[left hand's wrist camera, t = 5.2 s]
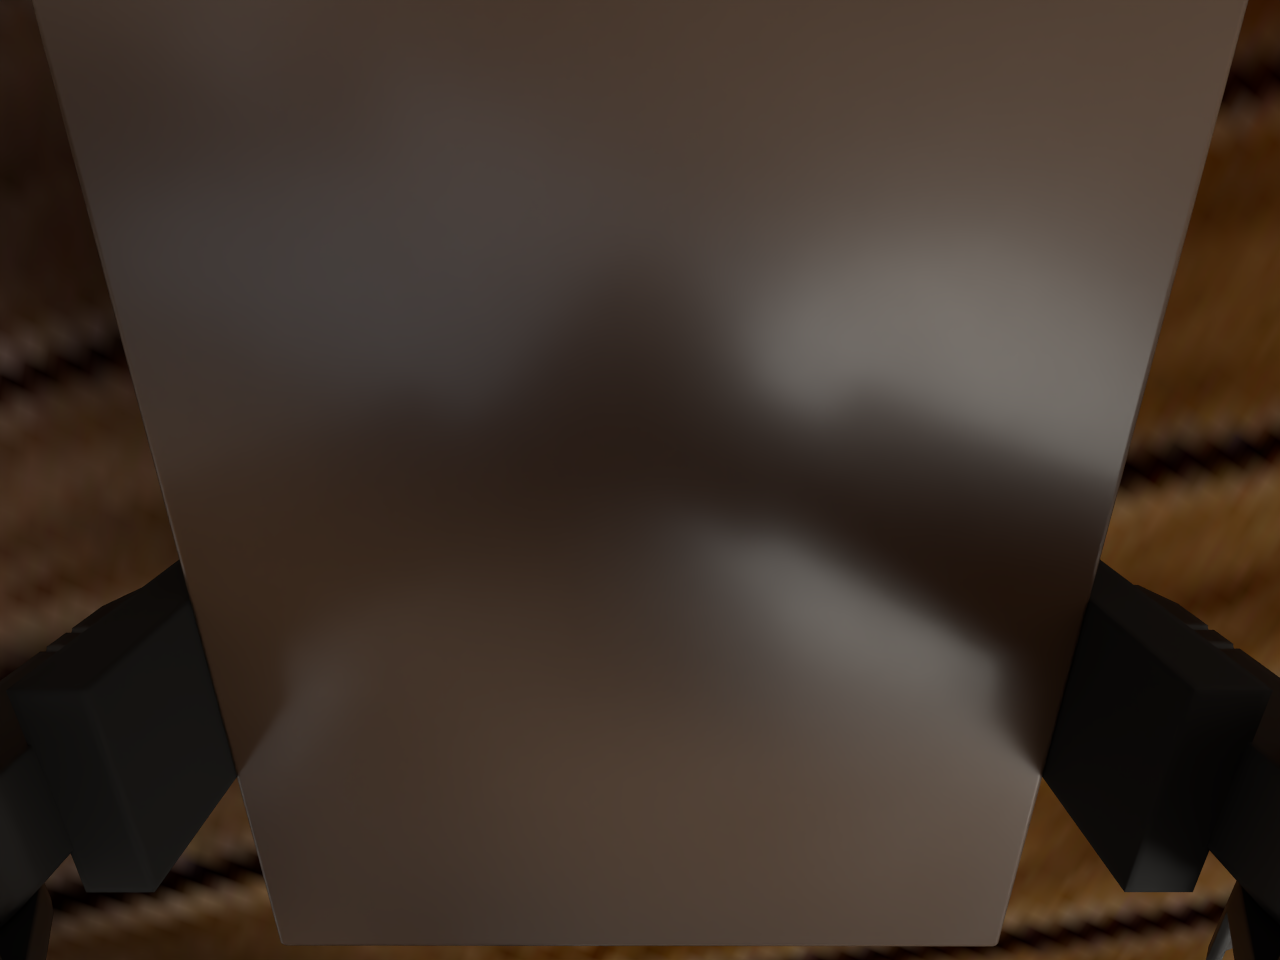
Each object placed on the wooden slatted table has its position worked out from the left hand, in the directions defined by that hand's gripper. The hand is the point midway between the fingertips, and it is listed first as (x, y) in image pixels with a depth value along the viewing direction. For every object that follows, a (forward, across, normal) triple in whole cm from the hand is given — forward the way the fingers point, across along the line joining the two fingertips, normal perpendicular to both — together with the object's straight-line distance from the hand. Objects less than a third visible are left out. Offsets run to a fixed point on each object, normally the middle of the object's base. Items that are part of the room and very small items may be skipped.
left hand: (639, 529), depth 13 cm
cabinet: (+5, 0, -4) cm, 6 cm away
